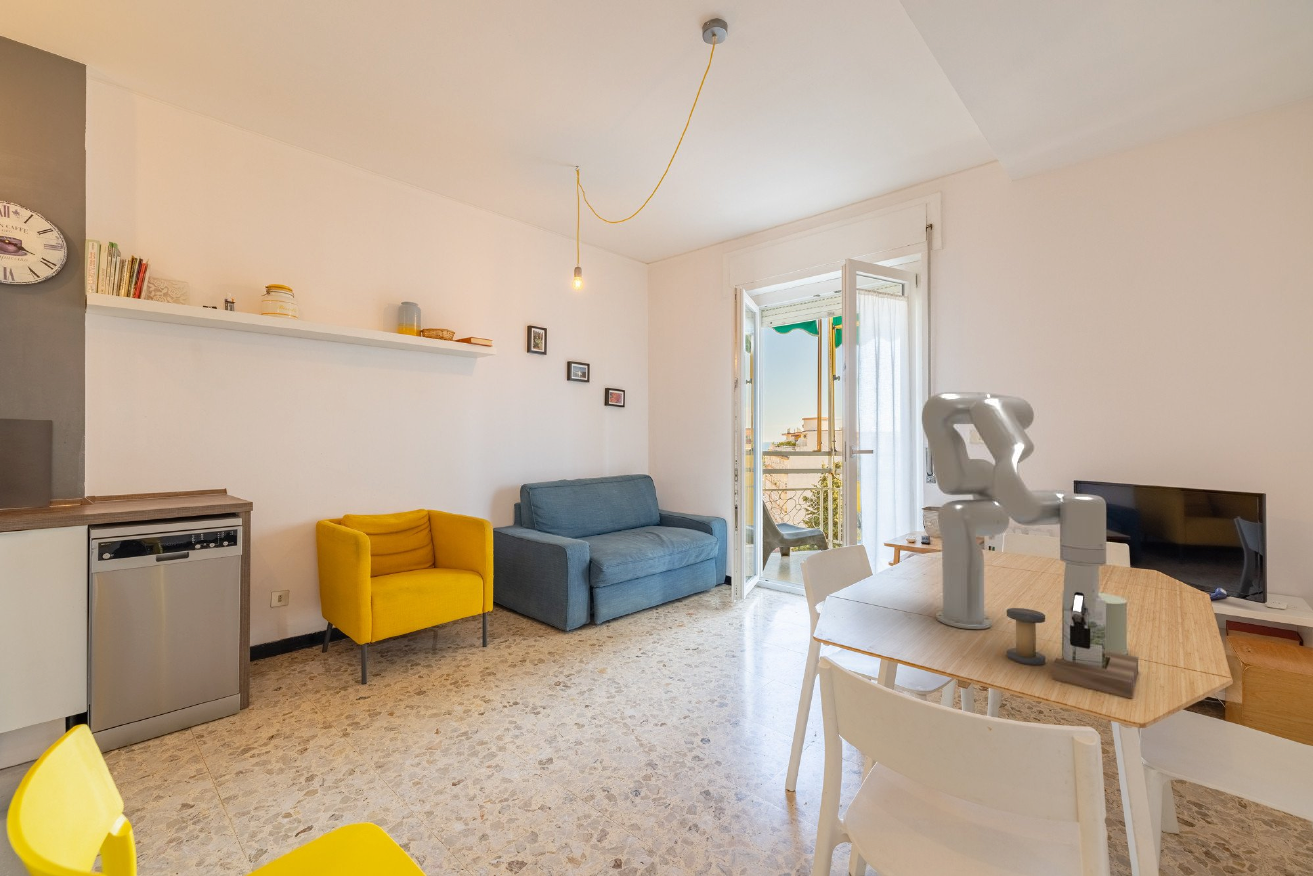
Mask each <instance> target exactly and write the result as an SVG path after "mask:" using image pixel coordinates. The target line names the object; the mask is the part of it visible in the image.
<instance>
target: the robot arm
mask: <svg viewBox="0 0 1313 876" xmlns="http://www.w3.org/2000/svg"><path fill="white" fill-rule="evenodd" d="M1034 419H1035V412H1034V409H1033V407H1032V405H1031V404H1030V403H1029V402H1028V401H1027V400H1025V399H1024V398H1021V397H1019V396H1010V395H1004V394H1003V395H1002V394H998V393H991V392H982V391H980V392H979V391H973V392H972V391H971V392H969V391H944V392H940V393H936V394H934V395H932V396H930V397H929V398H928V399H927V400H926V402H925V403H924V405H923V408H922V412H921V424H922V428H923V431H924V433H925V436H926V437H925V438H926V439H927V441H928V445H929V449H930V454H931V459H932V465H933V470H934V474H935V479H936V483H937V486H938V488H939V490H940V492H942V494H945V495H948V496H968V495H969V496H971V497H972V499H956V500H951V501H948V502H945V503H944V504H942V505H941V507H940V508H939V509H938V512H937V524H938V529H939V532H940V540H941V559H942V560H941V561H942V564H941V565H942V572H941V573H942V577H941V578H942V610H939V611H937V612H936V613H935V617H936V620H937V621H939V622H940V623H942V624H944V625H948V626H950V627H953V628H959V629H966V630H967V629H968V630H984V629H988V628H990V627H991V626H992V620H991V618H989V617H988V616H986V615H985V556H984V551H983V549H982V547H981V545H980V543H979V541H978V539H977V537H985V536H986V537H987V536H988V537H989V536H997V535H1001V534H1003V533H1004V532H1005V531H1006V530H1007V529H1008V528H1009V524H1010V518H1011V520H1012V521H1014V522H1015V523H1017V524H1019V525H1021V526H1024V527H1025V526H1027V527H1028V526H1031V527H1034V526H1053V525H1054V526H1055V525H1059V555H1060V556H1059V560H1060V561H1061V562H1063V563H1065V565H1064V573H1063V590H1064V594H1063V609H1064V610H1065V611H1068V610H1070V609H1071V607H1072V605H1073V603H1074V607H1072V611H1071V625H1070V645H1072V646H1076V647H1081V648H1085V649H1090V628H1088V627H1089V615H1092V614H1093V613H1094V610H1095V603H1096V599H1097V597H1098V595H1099V593H1100V567H1103V566H1107V503H1106V500H1105V499H1104V498H1103V497H1102V496H1099V495H1096V494H1095V495H1094V494H1087V493H1074V492H1070V491H1066V490H1061V489H1035V490H1029V489H1028V487H1027V486H1026V484H1025V483H1024V481H1023V479H1022V478H1021V476H1020V474H1019V469H1018V468H1019V467H1018V465H1019V463H1021V462H1023V461H1025V460H1026V459H1028V458H1029V457H1030V456H1031V455H1032V454H1033V453H1034V449H1035V444H1034V443H1033V441H1032V440H1031V439H1030V437H1029V436H1028V434H1027V432H1026V431H1025V430H1027V429H1029V428H1030V426H1031V425H1032V423H1034V422H1033V421H1034ZM954 425H973V426H974V428H975V430H976V431H977V433H978V435H979V436H980V439H982V441H983V442H984V444H985V446H986V448H987V449H988V451H989V453H990V454H991V456H992V458H993V460H994V464H993V463H992V462H991V461H989V460H987V459H982V458H970V456H969V454H968V450H967V445H966V442H965V440H964V438H963V436H962V435H961V433H960V432H959V431H958V430H957V428H955V427H954ZM1083 600H1084V602H1083ZM1086 608H1087V609H1086ZM1082 609H1084V610H1086V612H1082ZM1082 616H1085V619H1084V617H1082ZM1084 620H1085V621H1084Z"/></svg>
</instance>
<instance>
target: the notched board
mask: <svg viewBox="0 0 1313 876" xmlns="http://www.w3.org/2000/svg"><path fill="white" fill-rule="evenodd" d="M1051 664H1052V680H1055V681H1059V682H1063V683H1068V684H1071V685H1074V686H1079V687H1083V688H1086V689H1087V688H1088V689H1091V690H1095V691H1099V692H1103V693H1107V694H1111V695H1115V696H1120V697H1124V698H1127V699H1131V700H1132V699H1133V695H1134V690H1135V686H1136V683H1137V678H1138V674H1139V656H1135V655H1129V654H1121V653H1116V652H1111V651H1107V650H1105V669H1103V668H1099V667H1094V666H1090V665H1086V664H1081V663H1077V662H1072V661H1068V660H1065V659H1064V658H1063V657H1062V658H1058V657H1056V658H1055V659H1054V661H1053V662H1052V663H1051Z"/></svg>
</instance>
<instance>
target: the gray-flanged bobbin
mask: <svg viewBox="0 0 1313 876" xmlns="http://www.w3.org/2000/svg"><path fill="white" fill-rule="evenodd" d="M1006 617H1007V618H1009V619H1011V620H1015V647H1014V648H1013V647H1012V648H1008V649H1007V650H1006V657H1007V658H1008V660H1011V661H1013V662H1015V663H1017V664H1018V663H1019V664H1022V665H1026V666H1035V667H1036V666H1038V667H1039V666H1044V665H1045V664H1046V662H1047V661H1046V656H1045V655H1044V654H1043V653H1041V652H1037V647H1036V646H1037V642H1036V641H1037V638H1036V637H1037V636H1036V635H1037V634H1036V632H1037V626H1036V625H1037V624H1040V623H1041V624H1043V623H1045V622H1046V614H1045V613H1042V612H1041V611H1037V610H1035V609H1029V608H1023V607H1022V608H1021V607H1010V608H1007V609H1006Z"/></svg>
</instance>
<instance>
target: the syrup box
mask: <svg viewBox="0 0 1313 876" xmlns="http://www.w3.org/2000/svg"><path fill="white" fill-rule="evenodd" d="M1063 594H1064V589H1063V590H1062V595H1061V596H1062V597H1061V598H1062V599H1061V601H1062V603H1061V606H1062V607H1061V609H1062V610H1061V611H1062V613H1061V614H1062V617H1061V620H1062V621H1061V626H1062V629H1061V630H1062V631H1061V633H1062V636H1061V639H1062V640H1061V656H1062V659H1063V658H1064V659H1065V660H1068V661H1072V662H1077V663H1081V664H1086V665H1090V666H1094V667H1099V668H1103V669H1105V650H1106V648H1105V647H1106V601H1105V600H1104V599H1103V598H1102V597H1101V596H1100V595H1098V597H1097V599H1096V603H1095V610H1094V613H1093V614H1092V615H1089V627H1088V628H1090V649H1085V648H1081V647H1076V646H1072V645H1070V625H1071V611H1072V607H1074V603H1073V605H1072V607H1071V609H1070V610H1068V611H1065V610H1064V609H1063ZM1083 602H1084V600H1083ZM1086 609H1087V608H1086ZM1082 612H1086V610H1084V609H1082ZM1082 617H1084V619H1085V616H1082ZM1084 621H1085V620H1084Z"/></svg>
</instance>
